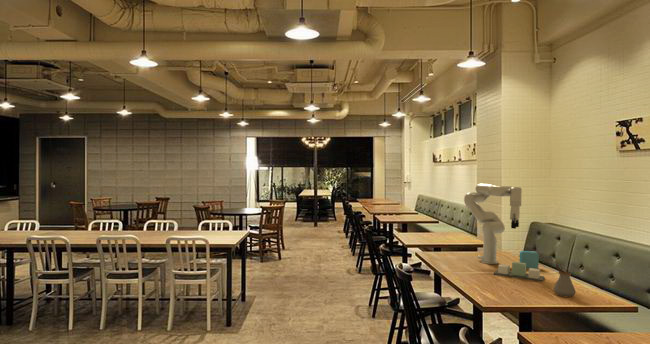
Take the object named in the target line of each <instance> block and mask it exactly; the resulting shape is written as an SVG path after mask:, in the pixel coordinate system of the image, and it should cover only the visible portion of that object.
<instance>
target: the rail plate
mask: <svg viewBox="0 0 650 344" xmlns="http://www.w3.org/2000/svg"><path fill="white" fill-rule="evenodd" d="M494 275H495V276H501V277H507V278H508V277H509V278H513V279H520V280H527V281H534V282H540V283H541V282H543V281H544V280H545V275H540V277H539V279H536V278H529V277H528V273H526V275H525V276H519V275H512V270H510V272H509V273H508V274H502V273H498V268H497V269H496V271H494V272H493V276H494Z"/></svg>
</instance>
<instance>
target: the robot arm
mask: <svg viewBox="0 0 650 344" xmlns="http://www.w3.org/2000/svg"><path fill="white" fill-rule="evenodd" d="M491 196H494V197H509V206H510V211H509V212H510V213H509V219H510V220H511V222H510V225H511V227H510V228H511V229H516V228H519V227H520V221H519V220H520V217H521V216H520V214H521V213H520V212H521V211H520V209H521V208H520V207H522V187H520V186H511V185H509V186H508V185H507V186H506V185H503V186H501V185H495V184H494V183H487V182H486V183H478V184H476V186H475V192H467V193H466V194H465V195H464V198H463V201H464V204H465V206H466V208H467V209H468V210H469V211H470V213H472V215H473V216H474V218H475V220H477V222H478V223H479V224H482V227H481V228H482V233H483V242H482V244H483V247H482V249H483V250H482V255H477V259H479V260H480V262H481V263H483V264H488V265H497V264H498V263H499V261H498V260H497V245H498V244H497V237H496V234H497V235H499V234H502V233H504V232H505V229H506V228H505V224H504V223H503V221H502V220H501V219H500V218H499V216H498V215H497V214H496V213H495V212H493V211H491V210H490V211H485V210H484V209H483V207H481V205H479V204H480V203H484V202H485V201H486V200H487V199H488V198H489V197H491ZM478 203H479V204H478ZM498 265H499V264H498Z"/></svg>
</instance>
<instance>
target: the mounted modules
mask: <svg viewBox="0 0 650 344" xmlns="http://www.w3.org/2000/svg"><path fill="white" fill-rule="evenodd" d="M510 268H511V265H510V264H506V263H505V264H504V263H500V264H498V267H497V269H498V273H502V274H508V273H509V272H510V271H511V269H510ZM527 274H528V277H529V278H536V279H539V277H540V276H541V268H540V269H539V268H537V269H535V268H528V273H527Z"/></svg>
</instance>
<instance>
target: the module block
mask: <svg viewBox="0 0 650 344" xmlns="http://www.w3.org/2000/svg"><path fill="white" fill-rule="evenodd" d="M511 271H512V275H519V276H525V275H526V274H527V268H526V263H520V261H512V262H511Z"/></svg>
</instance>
